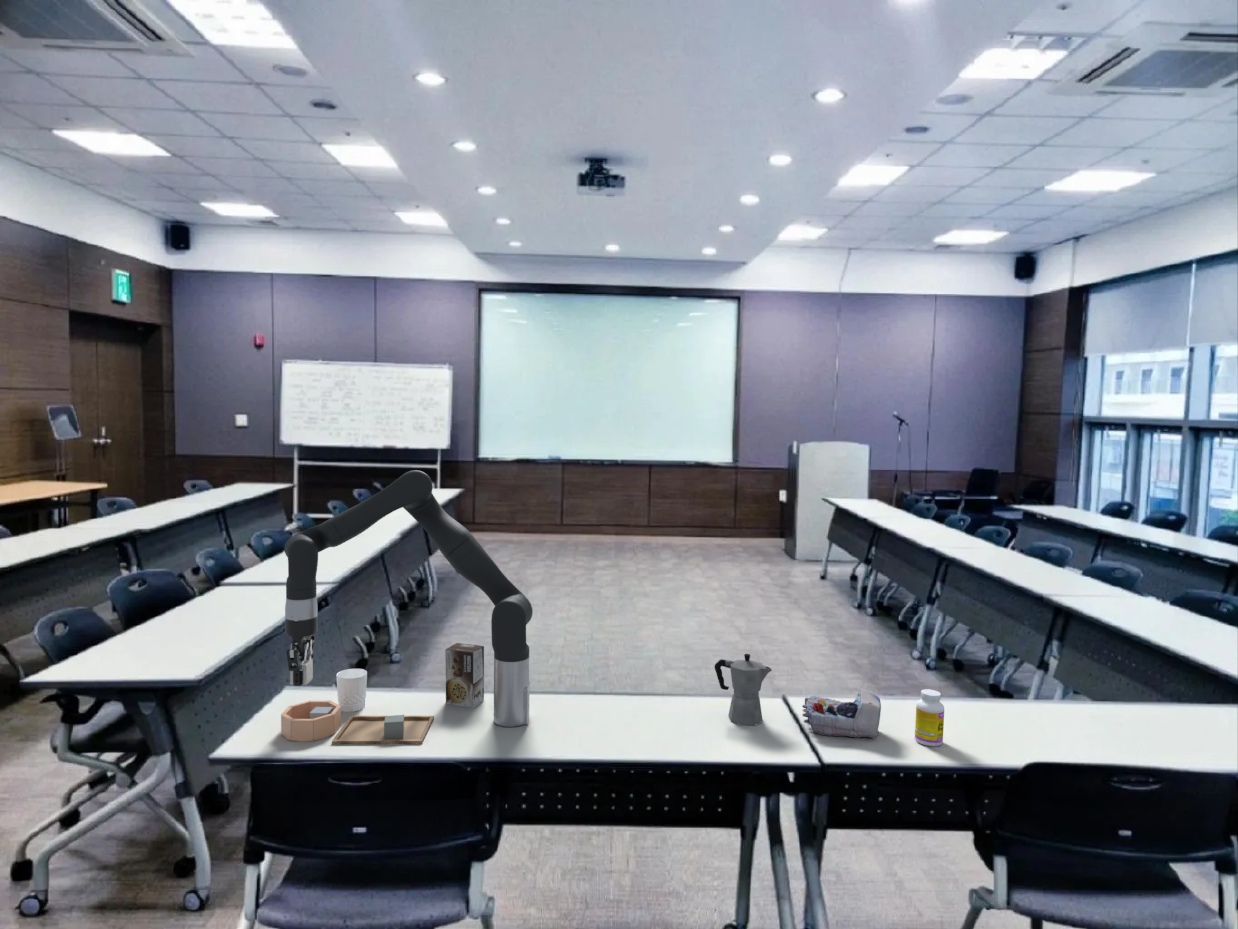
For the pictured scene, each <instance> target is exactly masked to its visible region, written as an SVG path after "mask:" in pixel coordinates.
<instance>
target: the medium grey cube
mask: <svg viewBox="0 0 1238 929" xmlns="http://www.w3.org/2000/svg"><path fill="white" fill-rule="evenodd" d="M384 716H385V721H384V740H392V739H404V716H405V714H397V715H396V714H395V715H384Z"/></svg>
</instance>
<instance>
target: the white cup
mask: <svg viewBox="0 0 1238 929" xmlns="http://www.w3.org/2000/svg"><path fill="white" fill-rule="evenodd" d="M367 681H368V671H367V670H365V669H363V668H348V669H344V670H343V669H342V670H340V671H338V672H337V673H336V690H337V702H338V703H337V704H338V705H340V706H341V712H346V713H353V712H357V711H360V710H363V709H364V708H365V707H366V698H367V697H366V696H367Z"/></svg>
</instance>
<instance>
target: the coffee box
mask: <svg viewBox="0 0 1238 929" xmlns="http://www.w3.org/2000/svg"><path fill="white" fill-rule="evenodd" d="M444 656H445V704H448V705H453V706H454V705H455V706H460V707H461V706H462V707H468V708H475V707H477V706H478V705H480V704H481V703H483V702H484V701H485V646H484V645H477V644H471V643H470V644H468V643H460V642H456V643H454V644H452V645H450V646H449V647H447V648H446V649H445V655H444Z"/></svg>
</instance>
